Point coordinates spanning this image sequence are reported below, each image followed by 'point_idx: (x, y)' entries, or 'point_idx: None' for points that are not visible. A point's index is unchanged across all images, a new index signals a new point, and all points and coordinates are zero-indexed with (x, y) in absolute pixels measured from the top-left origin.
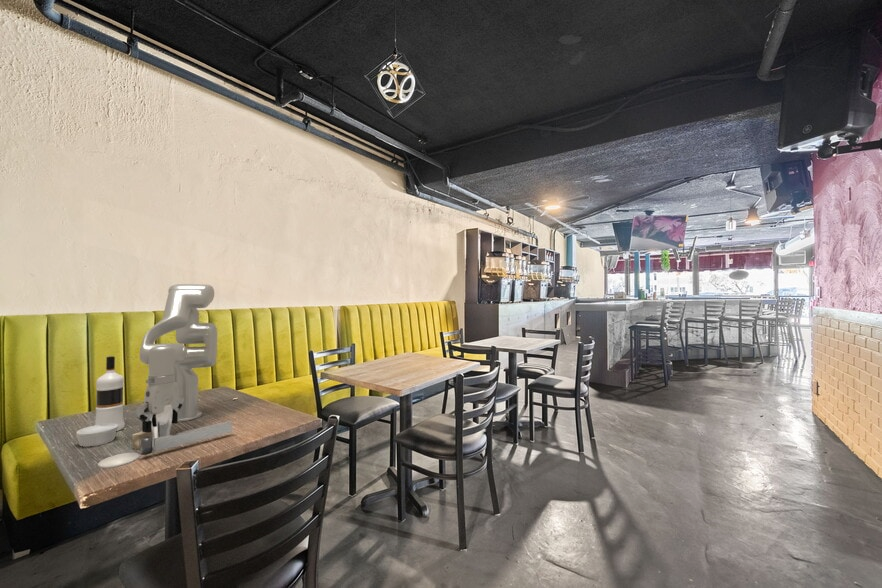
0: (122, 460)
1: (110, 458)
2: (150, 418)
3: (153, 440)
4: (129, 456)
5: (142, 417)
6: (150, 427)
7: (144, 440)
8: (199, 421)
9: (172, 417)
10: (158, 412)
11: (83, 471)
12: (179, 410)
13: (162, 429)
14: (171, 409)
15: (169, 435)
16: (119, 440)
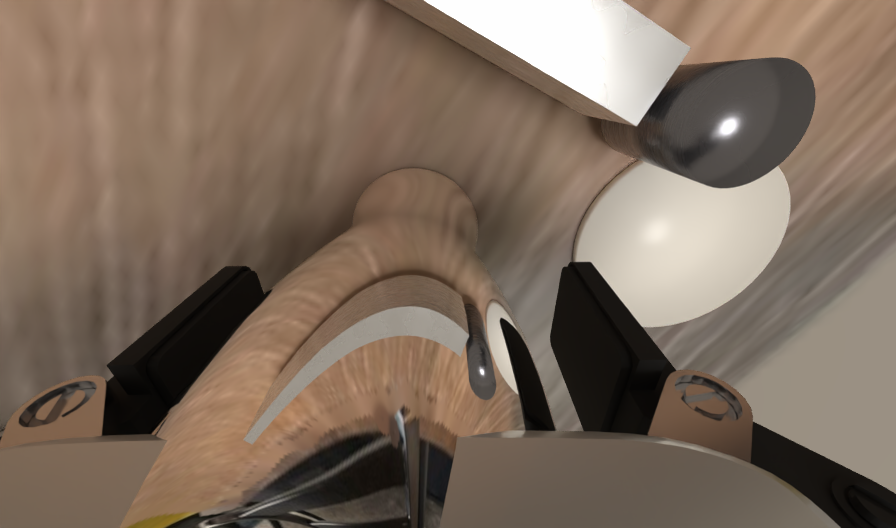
0: (707, 204)
1: (666, 302)
2: (667, 404)
3: (626, 122)
4: (640, 225)
5: (857, 486)
6: (603, 288)
7: (807, 93)
8: (34, 375)
9: (267, 293)
10: (635, 459)
11: (802, 285)
12: (36, 398)
13: (448, 232)
14: (185, 431)
15: (514, 12)
16: None
